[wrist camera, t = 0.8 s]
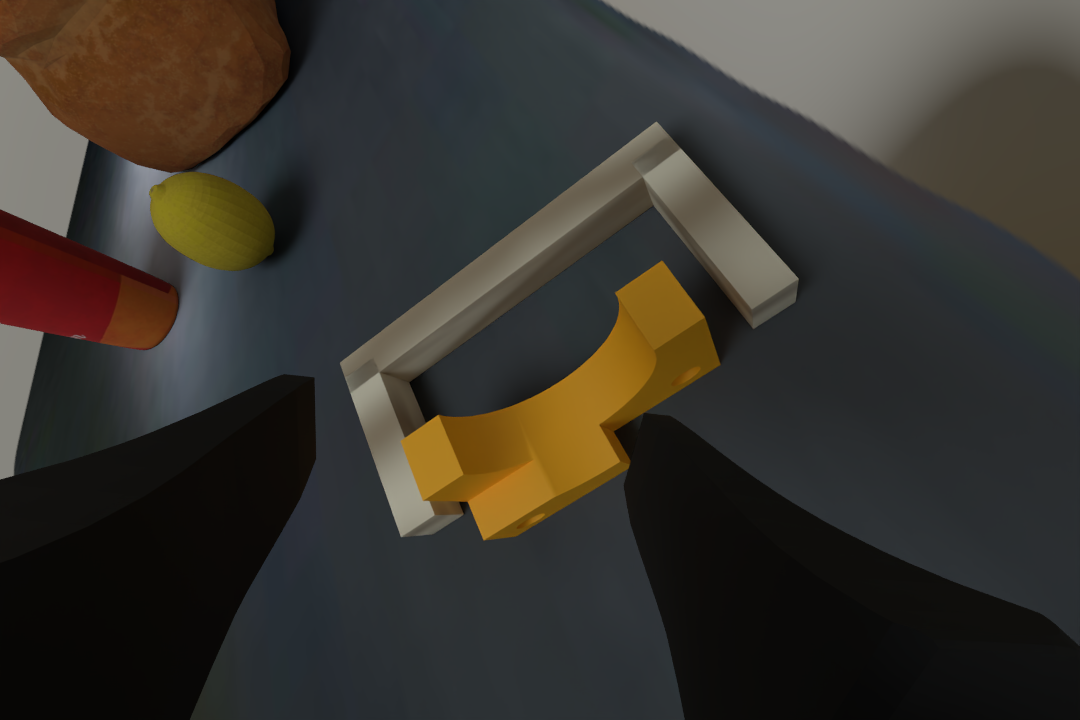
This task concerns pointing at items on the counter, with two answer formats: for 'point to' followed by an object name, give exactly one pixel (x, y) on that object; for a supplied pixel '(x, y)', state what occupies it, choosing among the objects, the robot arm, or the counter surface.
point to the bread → (149, 70)
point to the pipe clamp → (567, 417)
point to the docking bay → (530, 262)
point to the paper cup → (78, 290)
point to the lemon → (212, 221)
